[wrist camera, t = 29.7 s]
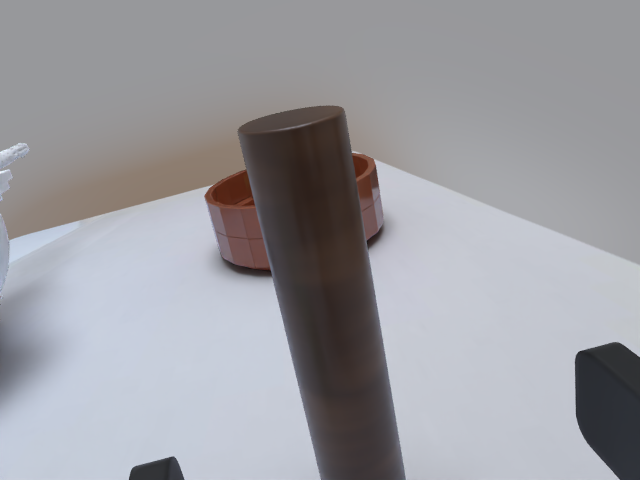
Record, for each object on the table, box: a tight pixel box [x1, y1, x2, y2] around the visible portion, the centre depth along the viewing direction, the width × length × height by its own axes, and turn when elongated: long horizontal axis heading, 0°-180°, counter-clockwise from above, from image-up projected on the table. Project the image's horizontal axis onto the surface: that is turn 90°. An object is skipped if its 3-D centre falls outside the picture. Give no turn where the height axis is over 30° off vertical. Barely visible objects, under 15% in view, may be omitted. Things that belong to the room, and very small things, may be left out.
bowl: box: [204, 153, 384, 271], centre depth 50 cm, size 15×15×6 cm
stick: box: [238, 106, 406, 480], centre depth 18 cm, size 3×3×16 cm
